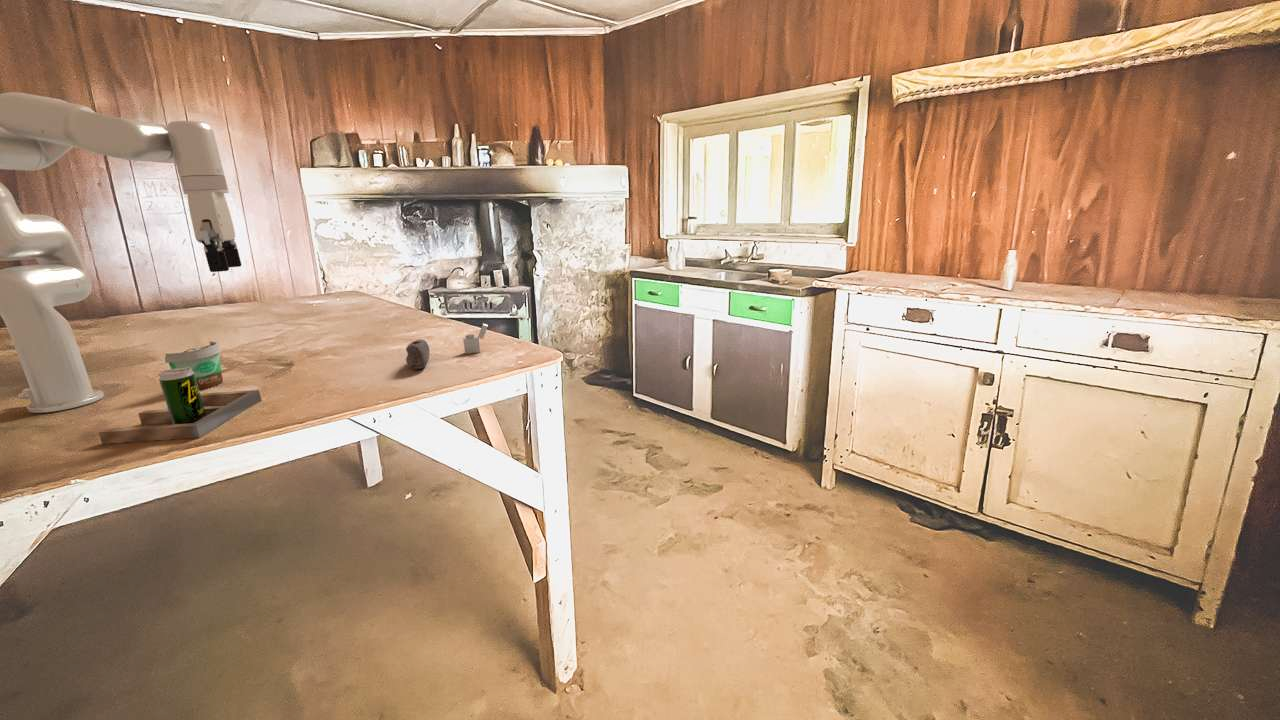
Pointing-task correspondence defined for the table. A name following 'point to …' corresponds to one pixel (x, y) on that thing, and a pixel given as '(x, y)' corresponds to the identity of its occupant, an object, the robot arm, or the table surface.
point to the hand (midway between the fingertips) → (226, 269)
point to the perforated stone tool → (417, 354)
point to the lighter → (474, 341)
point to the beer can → (182, 395)
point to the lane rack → (212, 420)
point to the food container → (200, 364)
